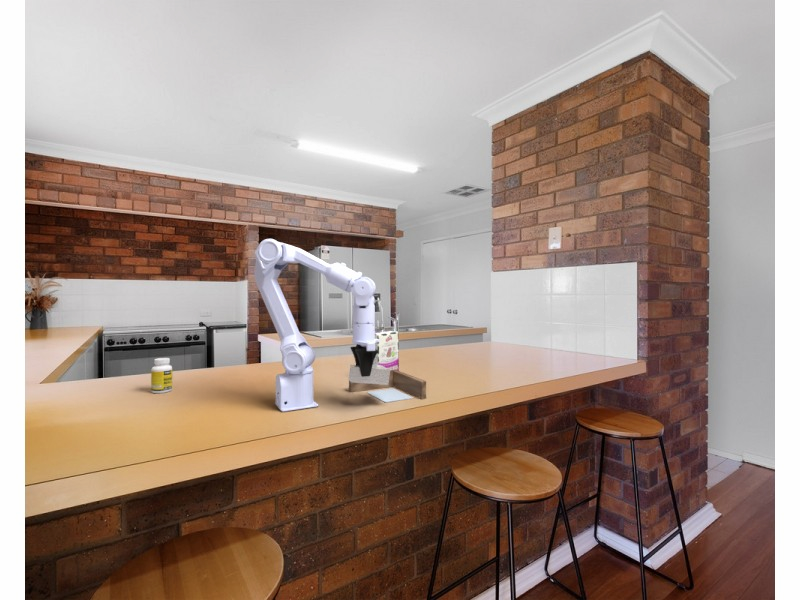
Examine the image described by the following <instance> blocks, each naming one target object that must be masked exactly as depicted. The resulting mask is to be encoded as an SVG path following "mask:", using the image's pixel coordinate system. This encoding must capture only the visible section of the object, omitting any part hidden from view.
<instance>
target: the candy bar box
mask: <svg viewBox="0 0 800 600" xmlns="http://www.w3.org/2000/svg"><path fill="white" fill-rule="evenodd" d="M375 339H379V342H375V349H377V350H378V353H377V355H376V356H375V359H374V361H373V364H375V365H382V366H384V367H386V368H388V369H390V370H397V371H399V370H400V367H399V366H400V364H399V363H400V360H399V358H400V357H399V355H400V354H399V347H400V345H399V331H394V330H393V331H391V330H387V331H386V330H385V331H380V332H375Z"/></svg>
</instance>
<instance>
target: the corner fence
mask: <svg viewBox="0 0 800 600" xmlns="http://www.w3.org/2000/svg"><path fill="white" fill-rule="evenodd" d="M385 388H386V389H388V388H394V389H395V388H396V390H397V389H398V390H399V391H401V392H403V393H405V394H407V395H410V396H414V397H416V398H418V399H420V400H425V399H427V381H426V380H425V379H421V378H418V377H416V376H413V375H411V374H408V373H405V372H403V371H397V370H390V376H389V383H388V385H381V384H368V383H354V382H350V381H349V380H348V391H349V392H350V393H357V392H358V393H359V392H364V391H370V390H371V391H374V390H381V389H385Z"/></svg>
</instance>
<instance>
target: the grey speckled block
mask: <svg viewBox="0 0 800 600" xmlns="http://www.w3.org/2000/svg"><path fill="white" fill-rule="evenodd" d="M389 376H390V369H388V368H386V367H384V366H382V365H375V364H373V365H372V370H371V374H370V376H366V377H362V375H361V371H360V365H356V364H350V367H349V373H348V382H349V381H350V382H354V383H368V384H381V385H388V383H389Z"/></svg>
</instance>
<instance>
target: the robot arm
mask: <svg viewBox="0 0 800 600" xmlns="http://www.w3.org/2000/svg"><path fill="white" fill-rule="evenodd" d="M253 255H254V258H255V265H254V281H255V284H256V287H257V289H258V291H259V293H260V295H261V298H262V300H263V302H264V305H265V307H266V310H267V312H268V314H269V316H270V318H271V321H272V323H273V325H274V328H275V330H276V333H277V335H278V337H279V340H280V345H279V349H280V353H281V357H282V358H281V359H282V360H281V362H282V366H283V368H284V369H285V371H284V372H283V373H278V374H276V376H275V402H274V405H276V407H277V408H278V409H279V410H280V411H281V412H289V411H295V410H304V409H310V408H315V407H319V404H318V403H317V402H316V401H314V368H313V366H312V365H313V363H314V362H315V360H316V352H315V349H314V348H313V347H312V346H311V345H310V344H309V343H308V342H307V339H306V338H305V337H304V335H302V334H301V333H300V330H299V328H298V326H297V323H296V321H295V318H294V316H293V314H292V311H291V309H290V307H289V305H288V302H287V300H286V298H285V295H284V293H283V291H282V289H281V288H282V287H281V286H280V284H279V281H278V278H279V276H280V275H281V272H282V271H283V270H284V269H285V268H286V267H287V266H288V264H300V265H303V266H305V267H307V268H309V269H310V270H314V271H315V272H317V273H320V274H322V275H324V276H325V280H326V282H327V283H329V284H331V285H332V286H335V287H337V288H339V289H340V290H343V291H345V292H346V293H351V294H352V296H353V306H352V339H351V343H352V344H353V345H355V346H350V348H349V349H350V350H351V352H352V354H353V358H354V362H355V365H360V371H361V375H362V377H366V376H370V374H371V370H372V365H373V361H374V359H375V356H376V355H377V353H378V350H377V349H375V342H379V339H375V333H376V330H375V329H376V325H375V324H376V321H375V320H376V306H375V301H376V300H375V296H374V295H375V293H376V289H377V287H376V283H375V281H373V279H371V278H370V277H368V276H362V275H363V272H361V271H358V272H356V271H355V270H353V269H351V268H349V267H347V263H344V262H341V263H339V262H334V263H327V262H325V260H322V259H320V258H319V257H316V255H313V254H311V253H309V252H307V251H306V250H304V249H302V248H300V247H296V246H294V245H291V244H287V243H284V242H280V241H277V240H276V239H273V238H266V239H263V240H262V241H261V242H259V244H258V246H257V248H256V249H255V251H254V253H253Z"/></svg>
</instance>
